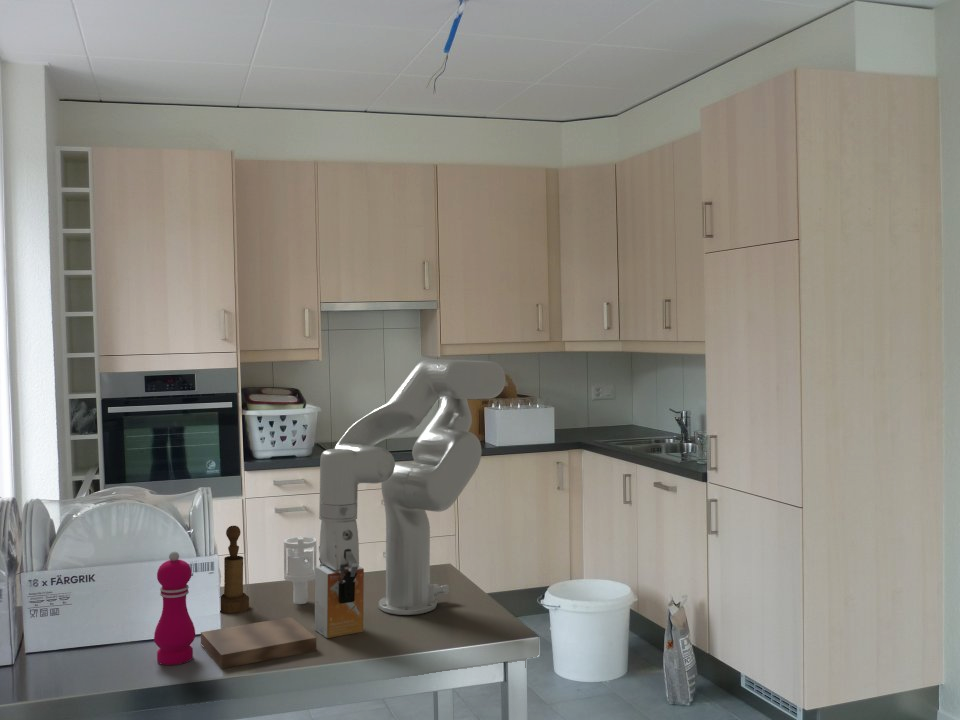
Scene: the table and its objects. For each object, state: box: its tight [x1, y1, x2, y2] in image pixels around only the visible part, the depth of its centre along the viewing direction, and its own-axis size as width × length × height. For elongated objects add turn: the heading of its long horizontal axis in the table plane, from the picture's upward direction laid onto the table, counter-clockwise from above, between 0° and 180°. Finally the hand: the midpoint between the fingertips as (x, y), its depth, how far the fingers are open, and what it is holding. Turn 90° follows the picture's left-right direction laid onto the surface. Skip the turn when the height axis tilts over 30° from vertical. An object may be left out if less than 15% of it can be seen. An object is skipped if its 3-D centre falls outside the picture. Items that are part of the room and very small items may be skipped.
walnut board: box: [200, 616, 317, 669], centre depth 176 cm, size 18×14×2 cm
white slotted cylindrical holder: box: [283, 535, 317, 605], centre depth 205 cm, size 7×7×15 cm
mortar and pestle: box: [220, 525, 250, 614], centre depth 200 cm, size 7×6×18 cm
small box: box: [314, 565, 365, 639], centre depth 186 cm, size 8×6×13 cm
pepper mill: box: [153, 551, 196, 666], centre depth 170 cm, size 7×7×20 cm
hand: (336, 596), depth 185 cm, fingers open, 9 cm apart
